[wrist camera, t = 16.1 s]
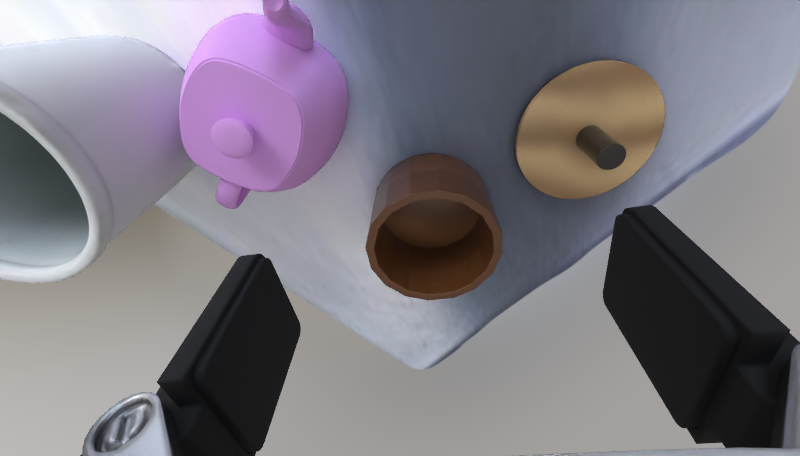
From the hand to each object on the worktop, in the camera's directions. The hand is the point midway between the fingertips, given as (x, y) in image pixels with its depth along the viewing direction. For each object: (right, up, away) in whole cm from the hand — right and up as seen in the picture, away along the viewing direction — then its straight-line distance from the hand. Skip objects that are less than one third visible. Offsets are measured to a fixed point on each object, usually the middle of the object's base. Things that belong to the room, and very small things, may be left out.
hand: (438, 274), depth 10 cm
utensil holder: (-27, +13, +27) cm, 40 cm away
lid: (+17, +10, +26) cm, 33 cm away
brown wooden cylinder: (+2, +4, +31) cm, 32 cm away
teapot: (-12, +15, +25) cm, 31 cm away
